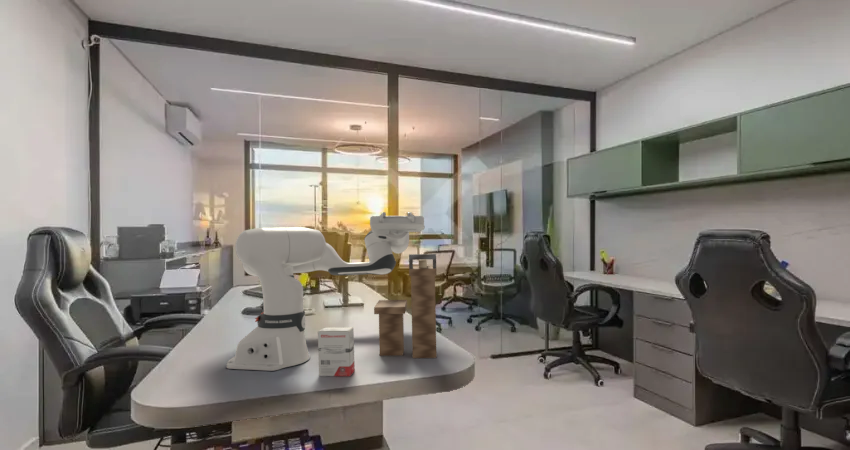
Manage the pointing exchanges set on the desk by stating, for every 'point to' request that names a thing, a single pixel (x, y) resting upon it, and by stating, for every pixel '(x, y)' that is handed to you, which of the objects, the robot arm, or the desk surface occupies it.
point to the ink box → (336, 351)
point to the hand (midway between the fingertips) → (396, 213)
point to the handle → (422, 263)
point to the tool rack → (421, 314)
